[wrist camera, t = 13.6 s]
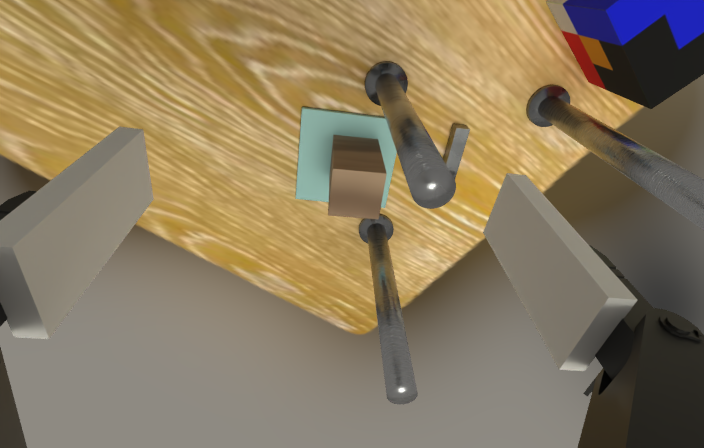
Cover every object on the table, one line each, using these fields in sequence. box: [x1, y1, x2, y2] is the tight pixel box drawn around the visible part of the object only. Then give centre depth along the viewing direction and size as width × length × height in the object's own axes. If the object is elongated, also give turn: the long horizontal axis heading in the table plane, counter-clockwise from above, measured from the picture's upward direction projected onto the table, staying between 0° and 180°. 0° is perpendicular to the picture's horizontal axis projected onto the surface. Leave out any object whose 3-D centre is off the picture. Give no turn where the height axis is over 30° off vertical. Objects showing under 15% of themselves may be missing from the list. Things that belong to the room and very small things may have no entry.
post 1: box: [365, 62, 456, 209], centre depth 31 cm, size 4×4×24 cm
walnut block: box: [328, 135, 387, 219], centre depth 41 cm, size 5×5×9 cm
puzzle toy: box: [546, 0, 704, 109], centre depth 34 cm, size 10×10×10 cm
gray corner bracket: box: [443, 124, 470, 180], centre depth 45 cm, size 6×6×2 cm
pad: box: [296, 107, 397, 208], centre depth 46 cm, size 11×11×1 cm
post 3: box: [527, 85, 704, 230], centre depth 33 cm, size 4×4×24 cm
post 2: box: [359, 214, 417, 404], centre depth 41 cm, size 4×4×24 cm
